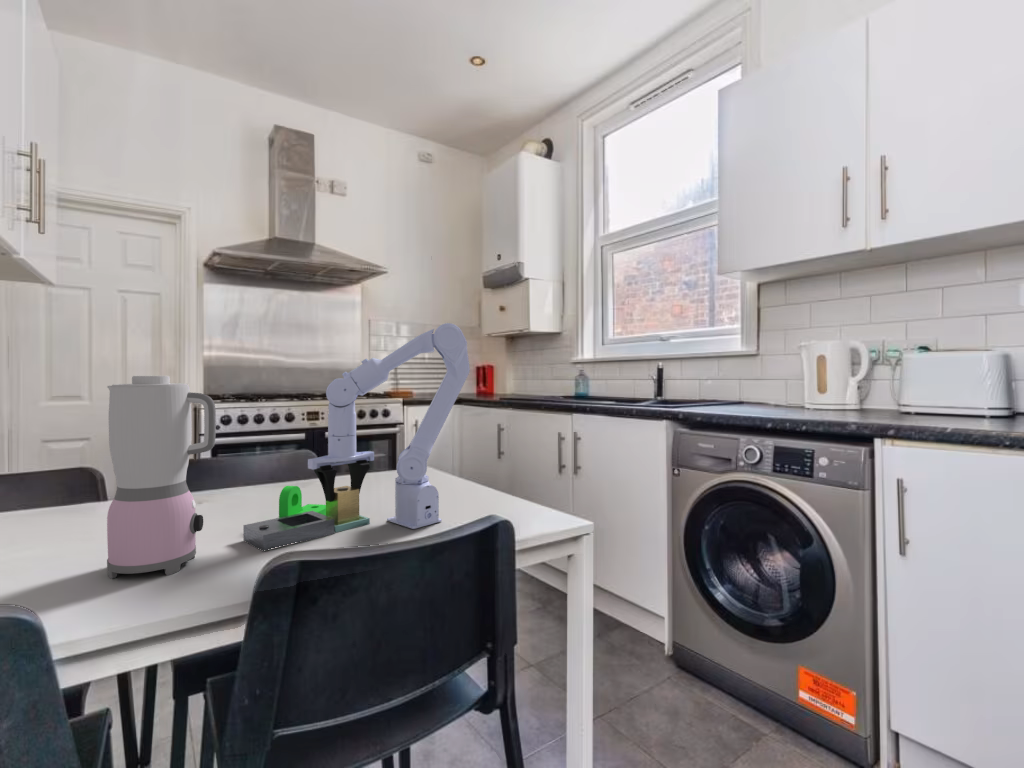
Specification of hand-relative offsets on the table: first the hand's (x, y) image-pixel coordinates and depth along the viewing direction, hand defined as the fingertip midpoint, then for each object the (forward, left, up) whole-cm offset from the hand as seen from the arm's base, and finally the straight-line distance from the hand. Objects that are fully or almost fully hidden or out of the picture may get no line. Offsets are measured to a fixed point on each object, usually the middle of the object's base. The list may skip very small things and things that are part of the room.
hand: (342, 498), depth 110 cm
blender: (+1, +33, -6) cm, 33 cm away
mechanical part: (+9, +3, -6) cm, 11 cm away
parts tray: (0, 0, -6) cm, 6 cm away
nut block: (0, 0, -5) cm, 5 cm away
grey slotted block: (0, +12, -6) cm, 13 cm away
